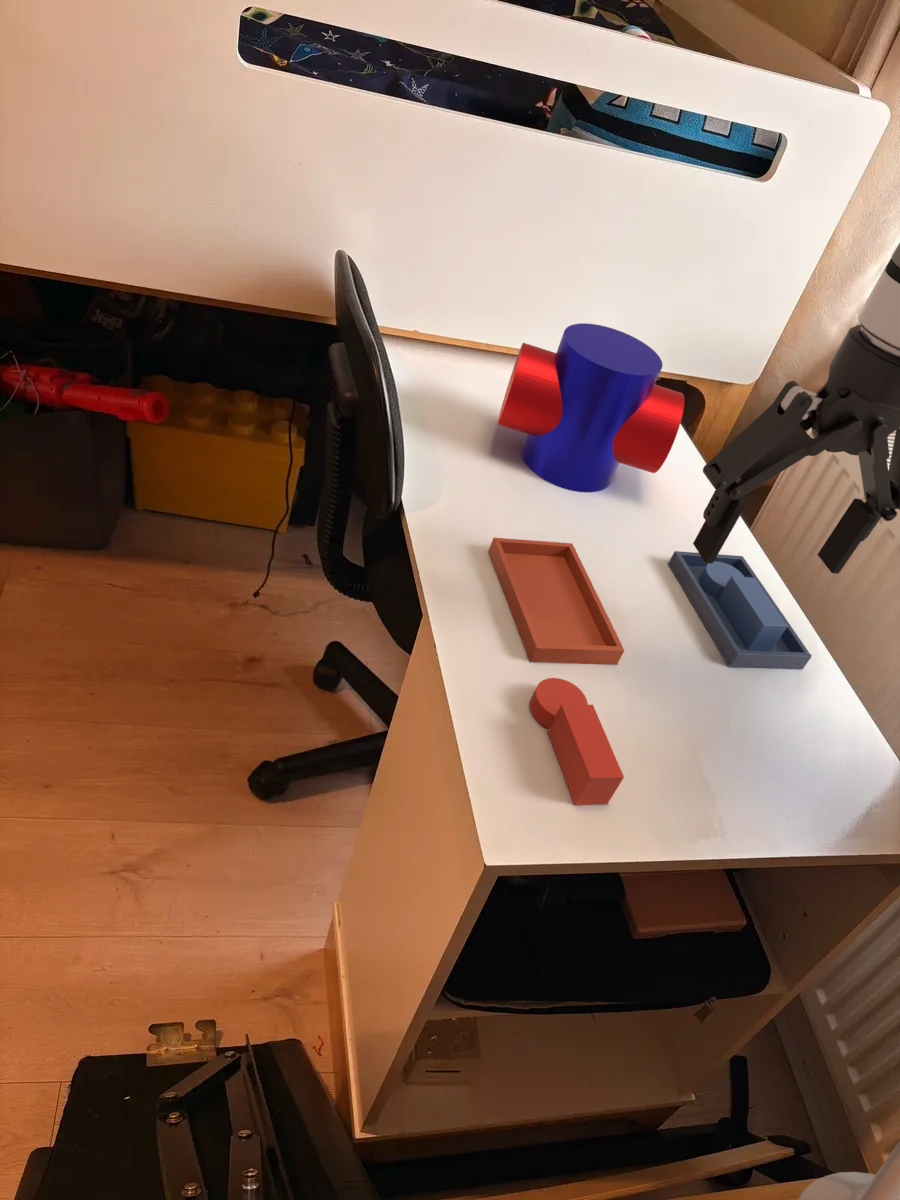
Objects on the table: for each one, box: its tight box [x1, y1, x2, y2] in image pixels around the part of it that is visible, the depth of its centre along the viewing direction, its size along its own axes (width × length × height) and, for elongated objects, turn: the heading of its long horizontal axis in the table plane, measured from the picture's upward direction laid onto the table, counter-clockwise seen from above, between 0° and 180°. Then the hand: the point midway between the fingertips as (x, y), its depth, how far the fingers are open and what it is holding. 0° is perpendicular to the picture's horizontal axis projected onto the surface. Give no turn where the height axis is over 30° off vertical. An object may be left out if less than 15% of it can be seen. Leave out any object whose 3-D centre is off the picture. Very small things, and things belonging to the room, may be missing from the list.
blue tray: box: [667, 550, 813, 670], centre depth 97 cm, size 16×9×2 cm, turn 12°
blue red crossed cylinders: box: [496, 322, 685, 493], centre depth 108 cm, size 20×12×16 cm, turn 81°
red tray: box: [488, 537, 625, 665], centre depth 90 cm, size 16×9×2 cm, turn 12°
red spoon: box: [529, 677, 624, 806], centre depth 76 cm, size 12×5×4 cm, turn 12°
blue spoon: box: [699, 561, 787, 650], centre depth 97 cm, size 12×5×4 cm, turn 12°
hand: (766, 559), depth 81 cm, fingers open, 13 cm apart
